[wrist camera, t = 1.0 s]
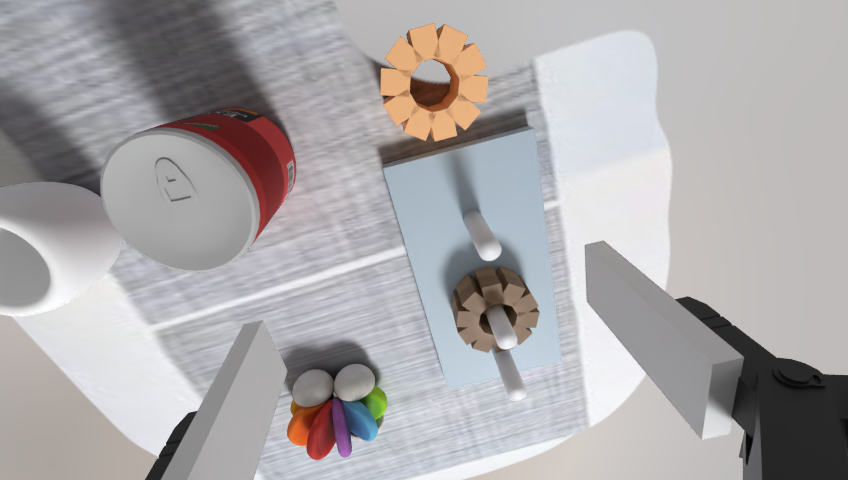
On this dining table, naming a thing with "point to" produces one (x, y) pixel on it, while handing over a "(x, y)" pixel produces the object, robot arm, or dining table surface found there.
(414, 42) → the gear
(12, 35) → the dining table surface
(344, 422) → the multicolored petal toy
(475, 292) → the gear
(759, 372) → the robot arm
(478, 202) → the gear board
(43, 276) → the mug
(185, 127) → the canned food
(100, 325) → the dining table surface
